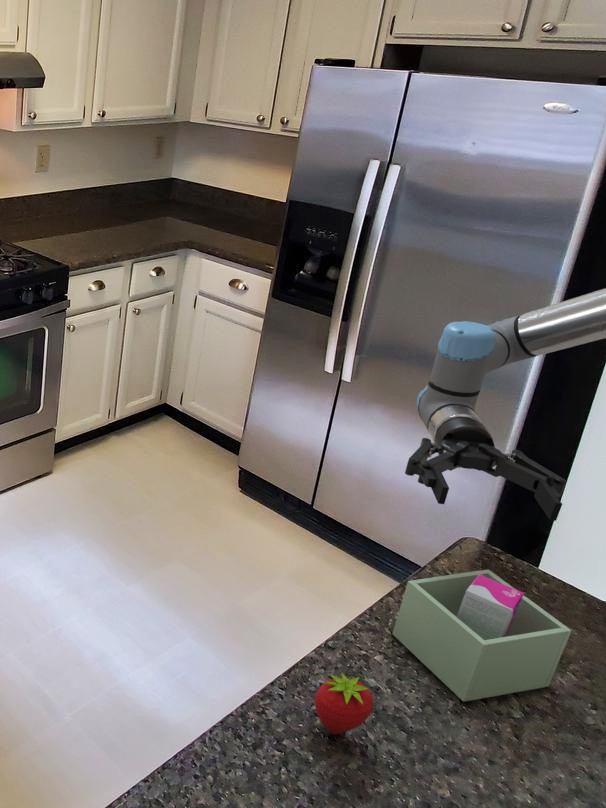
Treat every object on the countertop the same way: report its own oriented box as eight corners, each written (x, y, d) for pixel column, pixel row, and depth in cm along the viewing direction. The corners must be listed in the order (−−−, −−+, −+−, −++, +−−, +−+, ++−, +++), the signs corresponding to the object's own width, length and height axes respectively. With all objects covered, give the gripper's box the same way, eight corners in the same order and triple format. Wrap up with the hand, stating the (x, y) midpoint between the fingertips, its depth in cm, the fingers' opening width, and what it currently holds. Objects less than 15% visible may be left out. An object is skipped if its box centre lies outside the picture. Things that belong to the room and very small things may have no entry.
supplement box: (488, 676, 110) (512, 610, 105) (441, 654, 114) (462, 589, 109) (500, 656, 113) (525, 591, 108) (454, 635, 117) (476, 572, 112)
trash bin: (470, 621, 121) (488, 569, 117) (548, 686, 109) (572, 630, 105) (392, 634, 119) (407, 580, 114) (463, 702, 106) (483, 645, 102)
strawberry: (375, 740, 101) (394, 680, 97) (332, 760, 98) (349, 700, 94) (337, 707, 106) (353, 649, 101) (295, 726, 103) (310, 667, 99)
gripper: (542, 469, 127) (595, 542, 108) (370, 446, 134) (392, 511, 116) (557, 427, 124) (614, 495, 105) (380, 406, 131) (405, 466, 112)
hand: (498, 504), depth 110 cm, fingers open, 13 cm apart
